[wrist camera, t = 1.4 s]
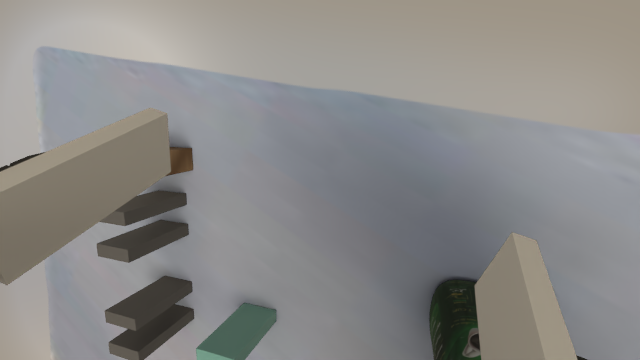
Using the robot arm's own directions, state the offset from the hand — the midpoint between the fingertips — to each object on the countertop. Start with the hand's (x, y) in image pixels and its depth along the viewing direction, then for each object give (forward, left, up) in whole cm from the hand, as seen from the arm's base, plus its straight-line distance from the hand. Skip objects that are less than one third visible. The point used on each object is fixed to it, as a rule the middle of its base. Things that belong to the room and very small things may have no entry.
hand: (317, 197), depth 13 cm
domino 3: (-23, +32, -26) cm, 47 cm away
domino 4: (-27, +32, -26) cm, 49 cm away
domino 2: (-14, +32, -26) cm, 43 cm away
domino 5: (-24, +18, -26) cm, 39 cm away
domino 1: (-9, +32, -26) cm, 42 cm away
